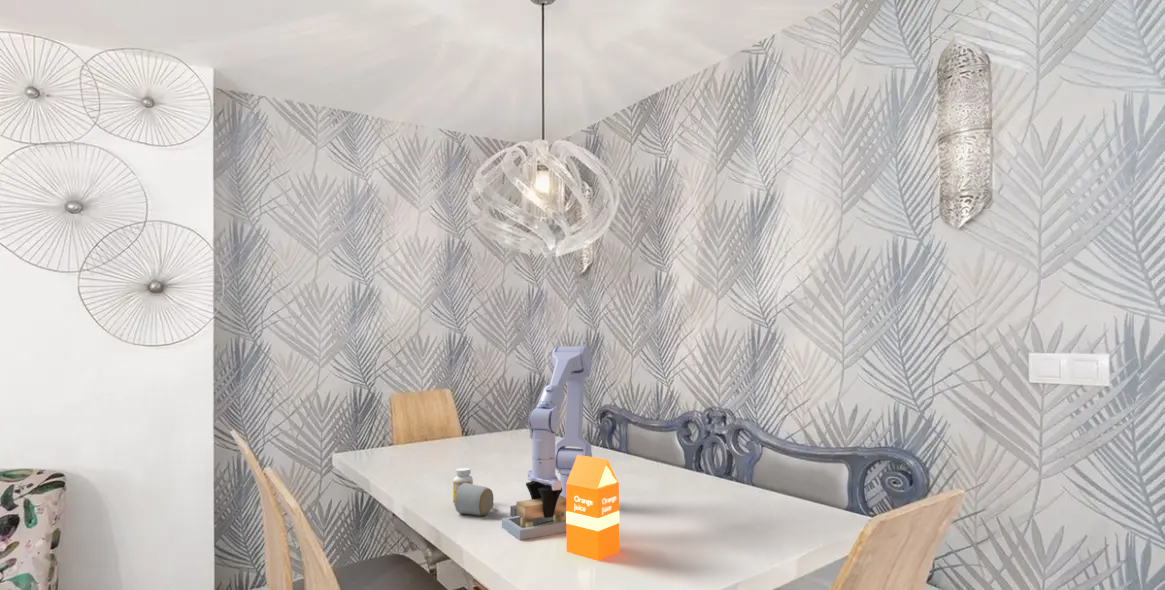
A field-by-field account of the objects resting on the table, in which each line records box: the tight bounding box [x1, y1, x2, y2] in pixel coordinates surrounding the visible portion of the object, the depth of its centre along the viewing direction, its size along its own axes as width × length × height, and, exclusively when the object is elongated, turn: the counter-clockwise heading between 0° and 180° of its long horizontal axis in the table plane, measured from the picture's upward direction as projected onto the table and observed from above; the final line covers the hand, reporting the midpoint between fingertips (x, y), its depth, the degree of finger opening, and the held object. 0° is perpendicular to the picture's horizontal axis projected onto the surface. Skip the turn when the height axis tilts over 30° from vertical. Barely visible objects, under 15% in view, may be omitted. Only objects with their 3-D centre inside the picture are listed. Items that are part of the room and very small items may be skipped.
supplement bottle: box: [452, 467, 474, 506], centre depth 166 cm, size 5×5×10 cm
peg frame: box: [501, 513, 567, 541], centre depth 144 cm, size 17×11×2 cm, turn 120°
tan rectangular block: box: [516, 495, 566, 520], centre depth 144 cm, size 12×5×3 cm, turn 120°
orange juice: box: [566, 455, 620, 562], centre depth 129 cm, size 8×9×20 cm
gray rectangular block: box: [509, 505, 518, 517], centre depth 155 cm, size 8×3×2 cm, turn 120°
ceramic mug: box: [454, 483, 495, 516], centre depth 158 cm, size 11×8×8 cm
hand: (543, 514), depth 144 cm, fingers closed on tan rectangular block, 5 cm apart
